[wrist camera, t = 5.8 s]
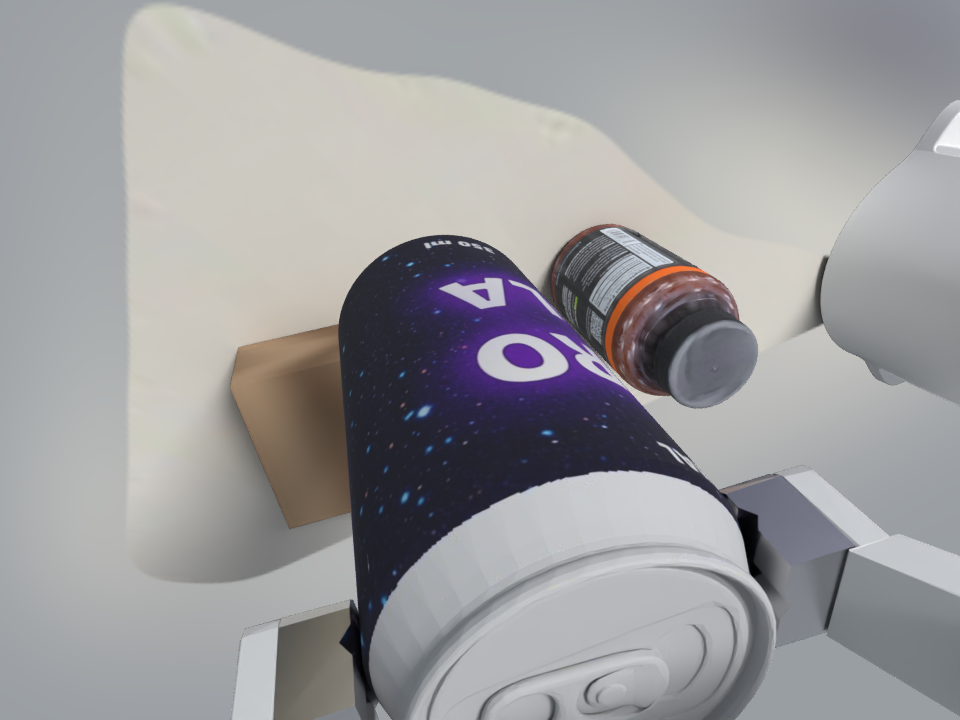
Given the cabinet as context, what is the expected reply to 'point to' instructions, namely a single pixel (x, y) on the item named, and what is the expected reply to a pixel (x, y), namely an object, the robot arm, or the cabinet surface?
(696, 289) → the supplement bottle
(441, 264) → the beverage can
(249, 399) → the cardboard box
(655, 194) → the cabinet surface
